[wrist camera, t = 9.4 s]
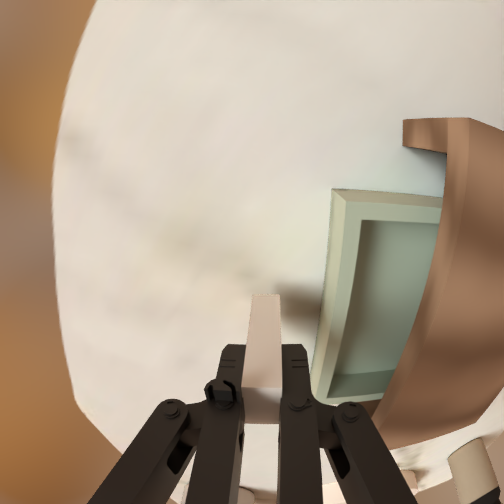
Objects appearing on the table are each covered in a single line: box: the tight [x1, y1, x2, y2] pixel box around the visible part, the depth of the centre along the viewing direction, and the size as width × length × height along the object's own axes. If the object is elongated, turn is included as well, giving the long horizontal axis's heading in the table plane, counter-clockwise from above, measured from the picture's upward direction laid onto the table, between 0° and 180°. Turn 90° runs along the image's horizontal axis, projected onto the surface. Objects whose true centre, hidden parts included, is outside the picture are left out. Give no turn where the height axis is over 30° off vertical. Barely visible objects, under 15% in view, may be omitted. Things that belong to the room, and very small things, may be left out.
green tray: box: [310, 189, 443, 405], centre depth 15 cm, size 14×12×3 cm
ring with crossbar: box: [322, 470, 418, 504], centre depth 34 cm, size 28×28×5 cm
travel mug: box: [448, 438, 503, 504], centre depth 21 cm, size 8×8×18 cm
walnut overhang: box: [357, 118, 504, 450], centre depth 13 cm, size 22×12×6 cm, turn 1°
